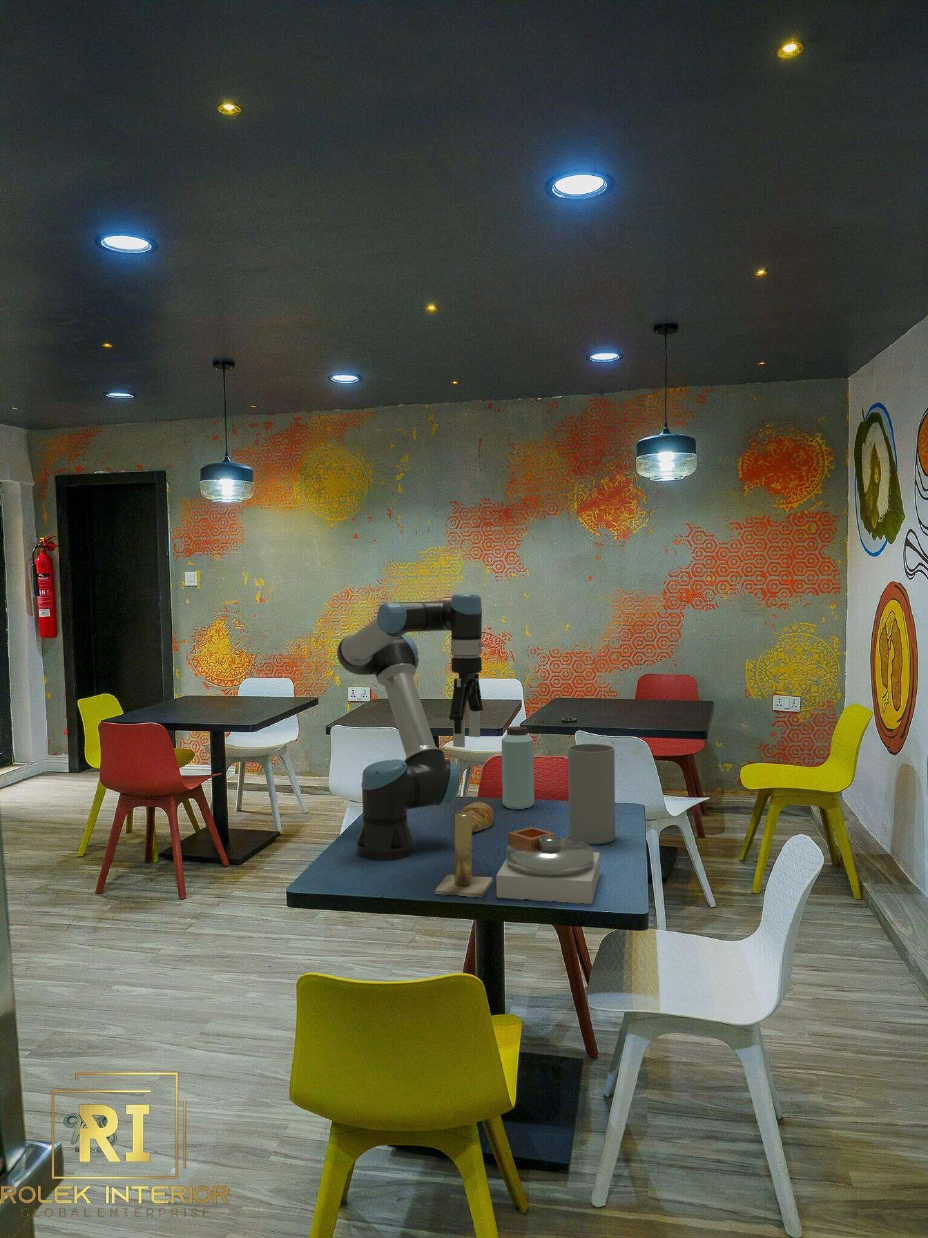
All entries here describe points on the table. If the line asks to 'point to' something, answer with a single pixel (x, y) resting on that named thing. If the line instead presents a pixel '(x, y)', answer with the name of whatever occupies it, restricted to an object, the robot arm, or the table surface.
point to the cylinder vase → (591, 793)
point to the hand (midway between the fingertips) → (466, 741)
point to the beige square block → (549, 885)
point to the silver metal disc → (547, 853)
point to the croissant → (479, 815)
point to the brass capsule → (463, 849)
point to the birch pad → (465, 887)
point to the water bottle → (517, 768)
